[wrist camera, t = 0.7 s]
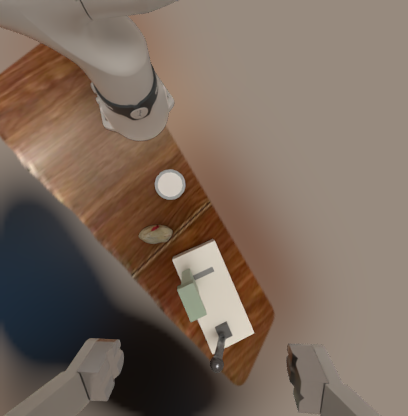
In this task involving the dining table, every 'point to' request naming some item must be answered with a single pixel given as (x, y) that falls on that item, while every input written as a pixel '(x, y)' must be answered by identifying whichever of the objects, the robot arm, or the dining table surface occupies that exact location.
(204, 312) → the capped sage pillar
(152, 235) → the chocolate bunny
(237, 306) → the control bank
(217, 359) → the graphite lever
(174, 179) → the white tapered cup
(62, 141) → the dining table surface
